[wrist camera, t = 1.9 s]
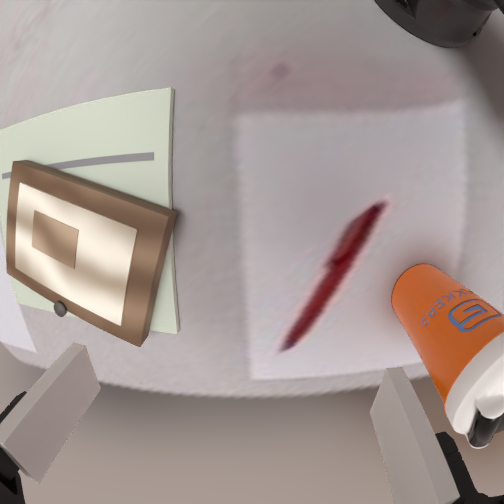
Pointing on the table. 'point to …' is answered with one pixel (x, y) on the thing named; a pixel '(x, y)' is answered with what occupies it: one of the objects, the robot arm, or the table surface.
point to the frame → (87, 248)
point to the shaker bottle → (456, 348)
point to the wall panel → (103, 167)
